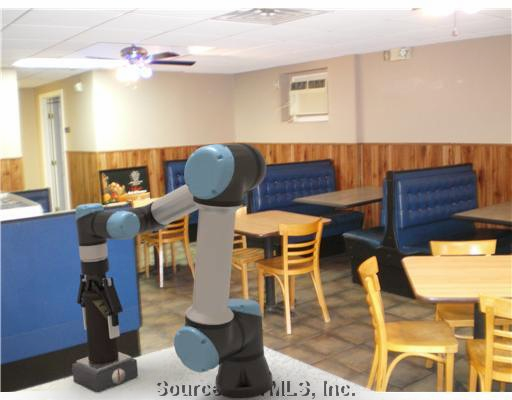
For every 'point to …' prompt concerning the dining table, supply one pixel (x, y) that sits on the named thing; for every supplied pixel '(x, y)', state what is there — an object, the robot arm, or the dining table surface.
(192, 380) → the dining table surface
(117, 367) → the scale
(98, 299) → the container
